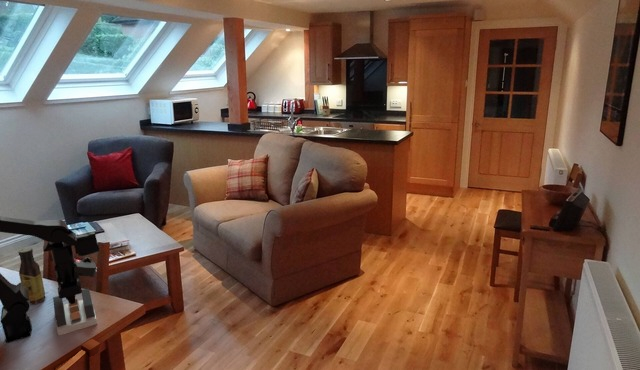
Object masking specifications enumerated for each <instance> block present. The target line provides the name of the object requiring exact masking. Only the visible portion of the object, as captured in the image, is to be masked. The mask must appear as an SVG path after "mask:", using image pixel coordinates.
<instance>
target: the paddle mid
mask: <svg viewBox="0 0 640 370" xmlns="http://www.w3.org/2000/svg"><path fill="white" fill-rule="evenodd" d="M69 309H70V313H74V312H77V311H79V306H78V305H74V306H71V307H69Z"/></svg>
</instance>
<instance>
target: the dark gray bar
mask: <svg viewBox="0 0 640 370" xmlns="http://www.w3.org/2000/svg"><path fill="white" fill-rule="evenodd" d="M81 297H82V300H83V303H84V308H85V312H86V317H87V319H88V318H91V317H95V315H96V312H95V313H94V311H95V307H94V303H93V300H92V295H91V291H90V288H89V287H88V288H84V289H82V293H81ZM93 307H94V308H93Z"/></svg>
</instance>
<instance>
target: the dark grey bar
mask: <svg viewBox="0 0 640 370" xmlns="http://www.w3.org/2000/svg"><path fill="white" fill-rule="evenodd" d="M52 300H53V311H54V319H55V322H56V323H57V324H56V328H57V327H60V326H64V325H66V319H65V311H64V305H65V304H64V301H63V298H62V299H60V298H59V295H58V296H54V297H52Z"/></svg>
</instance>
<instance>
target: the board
mask: <svg viewBox="0 0 640 370" xmlns="http://www.w3.org/2000/svg"><path fill="white" fill-rule="evenodd" d="M77 301H78V306H79V311H80V316H81V318H78V319H75V320H71V315H70V309H69V303H66V304H63V305H64V311H65V319H66V325H64V326H60V327H57V326H56V331H57V336H62V335H64V334H65V335H66V334H68V333H72V332H75V331H78V330H81V329H85V328H89V327H92V326H94V325H97V324H98V319H97V316H96V311H95V310H94V313H95V317H91V318H88V319H87V317H86V312H85V308H84V303H83V299H79V300H77ZM93 308H94V309H95V307H94V306H93ZM56 325H57V323H56Z"/></svg>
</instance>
